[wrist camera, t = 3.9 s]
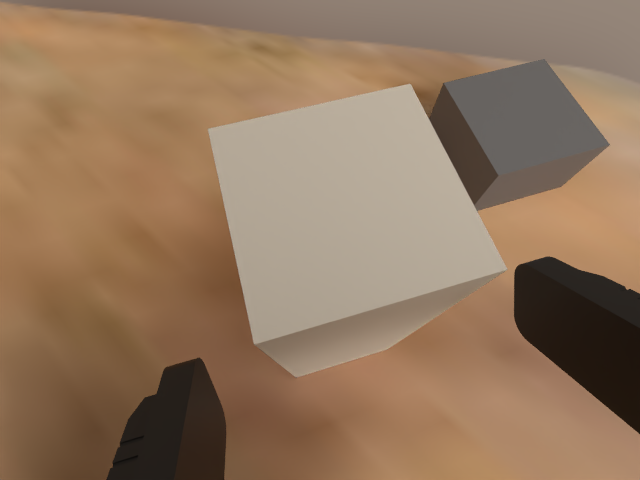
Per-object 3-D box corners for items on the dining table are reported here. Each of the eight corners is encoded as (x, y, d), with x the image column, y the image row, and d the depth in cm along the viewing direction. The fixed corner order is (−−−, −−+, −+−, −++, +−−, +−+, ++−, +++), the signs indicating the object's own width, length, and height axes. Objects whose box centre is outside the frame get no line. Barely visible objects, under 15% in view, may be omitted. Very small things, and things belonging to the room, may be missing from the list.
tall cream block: (296, 377, 17) (254, 344, 6) (273, 287, 18) (207, 128, 7) (387, 349, 17) (507, 269, 6) (357, 264, 19) (410, 83, 8)
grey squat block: (466, 215, 20) (498, 175, 17) (423, 133, 23) (443, 83, 19) (559, 188, 21) (610, 144, 17) (508, 111, 23) (544, 59, 20)
